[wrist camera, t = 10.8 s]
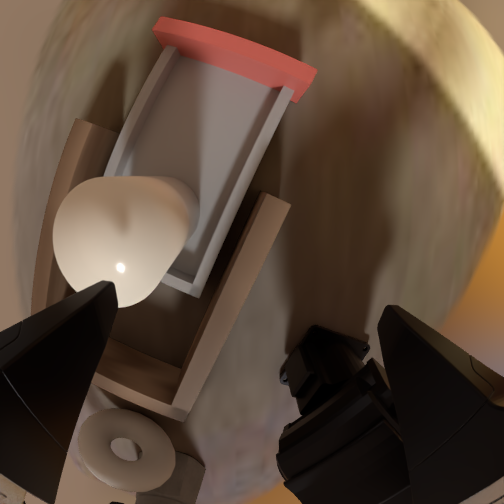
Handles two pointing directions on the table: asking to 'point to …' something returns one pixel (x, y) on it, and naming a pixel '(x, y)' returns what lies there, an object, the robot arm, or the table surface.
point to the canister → (123, 232)
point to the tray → (206, 128)
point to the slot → (218, 312)
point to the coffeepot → (176, 484)
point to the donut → (116, 469)
